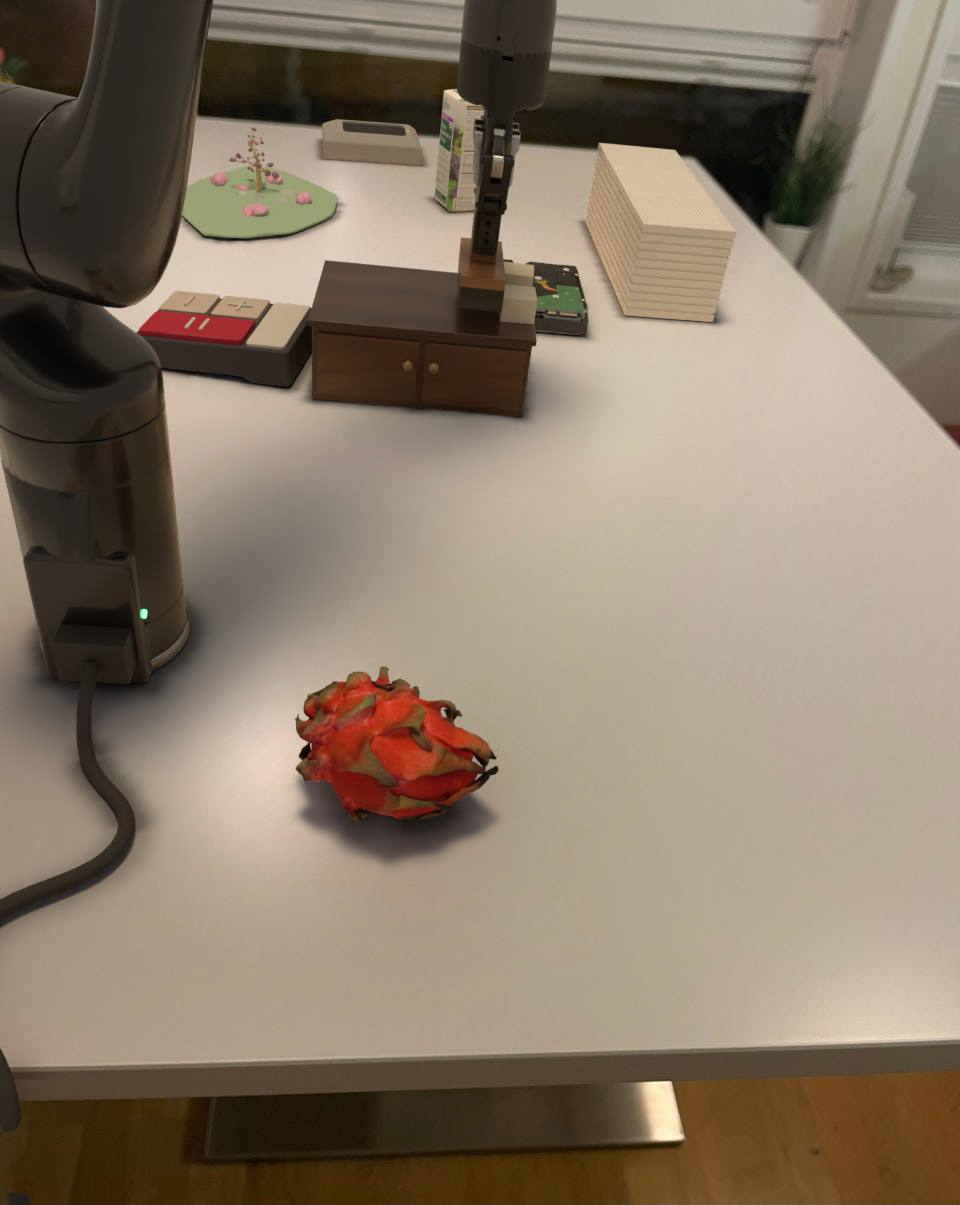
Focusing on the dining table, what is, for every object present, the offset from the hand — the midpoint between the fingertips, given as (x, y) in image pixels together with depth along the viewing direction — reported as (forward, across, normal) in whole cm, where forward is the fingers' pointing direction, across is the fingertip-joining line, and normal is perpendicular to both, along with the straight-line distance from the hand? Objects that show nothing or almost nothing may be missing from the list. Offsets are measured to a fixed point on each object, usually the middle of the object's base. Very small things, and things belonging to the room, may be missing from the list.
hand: (483, 246), depth 94 cm
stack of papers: (+13, -36, +23) cm, 45 cm away
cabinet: (+13, 0, -5) cm, 14 cm away
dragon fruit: (+13, +54, -5) cm, 56 cm away
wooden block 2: (+5, +2, +4) cm, 7 cm away
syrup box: (+14, -54, -1) cm, 56 cm away
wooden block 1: (+5, -3, +4) cm, 7 cm away
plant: (+14, -44, -28) cm, 54 cm away
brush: (+4, 0, 0) cm, 4 cm away
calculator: (+14, -1, -24) cm, 28 cm away
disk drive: (+14, -20, +8) cm, 25 cm away
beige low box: (+14, -75, -15) cm, 78 cm away
